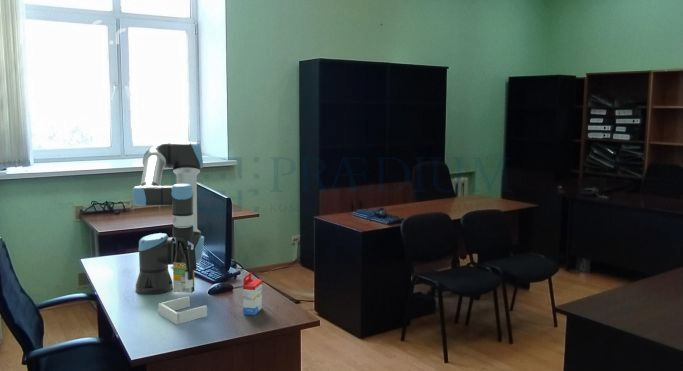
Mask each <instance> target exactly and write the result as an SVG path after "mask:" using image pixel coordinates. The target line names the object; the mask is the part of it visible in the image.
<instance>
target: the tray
mask: <svg viewBox="0 0 683 371" xmlns="http://www.w3.org/2000/svg"><path fill="white" fill-rule="evenodd" d="M157 305H158V315H161V316H162V317H164V318H166V319H167V320H169V321H170V322H172V323H173V324H175V325H180V324H184V323H186V322H187V321H188V322H190V321H191V322H192V321H194V320H198V319H202V318H206V317H207V316H208V306H207V305H205V304H204V305H202V306H198V307H193V308H189V307H190V296H189V295H187V296H182V297H179V298H174V299H170V300H167V301H163V302H159V303H158V304H157ZM185 308H189V309H187V310H183V311H179V312H177V310H182V309H185Z"/></svg>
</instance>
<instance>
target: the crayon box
mask: <svg viewBox="0 0 683 371" xmlns="http://www.w3.org/2000/svg"><path fill="white" fill-rule="evenodd" d="M178 264H180V265H178ZM181 265H182V266H181ZM172 266H173V267H172V272H173V274H172V275H173V276H172V278H173V279H172V282H173V288H172V290H173V293H185V294H193V293H194V292H195V291H196V290H195V270H194V271H193V287H191V288H186V282H185V271H186V265H185V263H177V262H173V265H172Z"/></svg>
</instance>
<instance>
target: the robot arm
mask: <svg viewBox="0 0 683 371" xmlns="http://www.w3.org/2000/svg"><path fill="white" fill-rule="evenodd" d="M142 165H143V170H142V175H141V178H140V180H141V181H140V185H137V186H134V187H133V188H132V202H133V205H134V206H136V207H137V206H139V207H140V206H141V207H152V206H155V207H156V206H171V209H172V210H171V212H172V215H171V216H172V218H171V221H172V225H173V226H172V236H170V237H169V236H168V234H167V233H162V232H159V233H153V234H148V235H145V236H142V237H141V238H140V239H139V240H138V250H137V251H138V255H139V256H138V261H139V262H138V263H139V274H138V276H137V279H136V282H135V291H136V292H137V293H139V294H142V295H158V294H159V295H160V294H164V293H167V292H169V291H171V290H173V279H172V276H171V274H170V272H169V265H172V266H173V262H177V263H185V265H184V266H186V271H185V282H186V288H191V287H193V271H194V272H195V271H196V270H197V269H198V268H197V264H199V263H201V262H202V258H203V252H204V242H205V236H203V235H202V232H201V230H199V229H198V198H197V196H198V194H197V193H198V187H197V186H198V185H197V184H198V183H197V182H198V180H197V176H198V175H199V174H200V173H201V169H203V168H204V160H203V153H202V147H201V144H200V143H199V142H198V141H189V140H188V141H162V142H161V141H160V142H158V143H156V144H154V145H152V146H151V147H149V148H148V150H146V152H145V153H144V155H143V157H142ZM164 169H172V173H173V174H174V175H175V176H176V183H175V184H173V185H162V178H163V177H162V176H163V171H164ZM178 265H181V266H183V264H178Z"/></svg>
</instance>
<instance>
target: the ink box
mask: <svg viewBox="0 0 683 371" xmlns="http://www.w3.org/2000/svg"><path fill="white" fill-rule="evenodd" d="M242 281H243V283H242V284H243V285H242V313H243V315H246V316H256V315H257V314H258V313H259V312H260V311H261V310H262V309H263V306H262V304H263V280H262V279H258V278H252V271H250V272H249V273H247V274H246V275H245V276H244V277H243V279H242Z"/></svg>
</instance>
